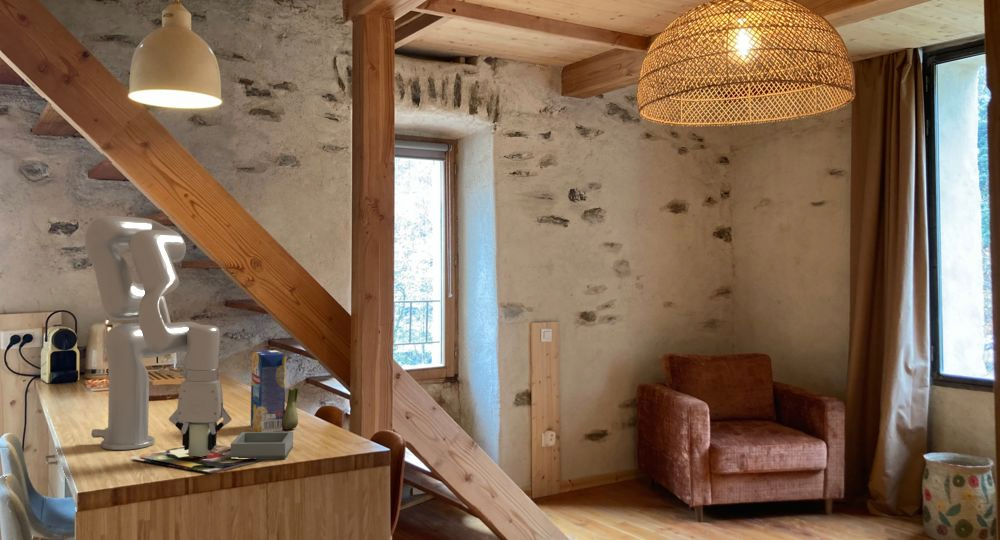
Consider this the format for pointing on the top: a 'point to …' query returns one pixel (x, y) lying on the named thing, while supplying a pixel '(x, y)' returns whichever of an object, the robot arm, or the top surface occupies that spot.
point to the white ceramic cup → (198, 439)
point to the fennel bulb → (290, 410)
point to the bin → (262, 445)
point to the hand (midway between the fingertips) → (199, 448)
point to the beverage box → (267, 390)
